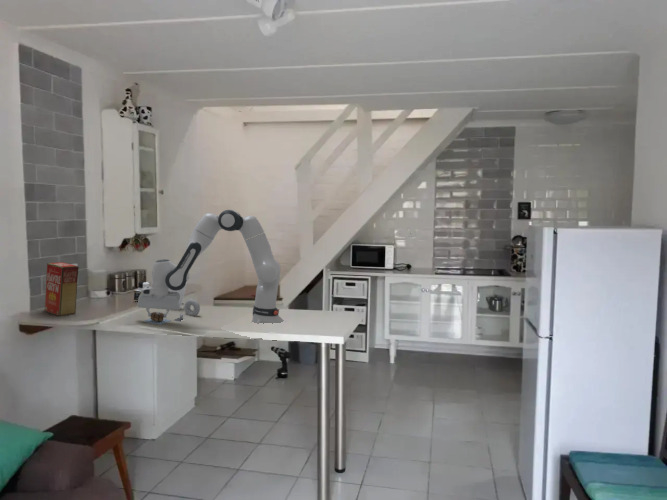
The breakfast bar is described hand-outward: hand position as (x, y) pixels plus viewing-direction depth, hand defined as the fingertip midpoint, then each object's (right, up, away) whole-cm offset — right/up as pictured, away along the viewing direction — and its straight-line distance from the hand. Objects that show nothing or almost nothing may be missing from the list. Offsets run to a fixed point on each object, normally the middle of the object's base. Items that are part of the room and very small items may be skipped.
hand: (157, 316), depth 254 cm
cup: (-2, 0, +33) cm, 33 cm away
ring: (0, -1, 0) cm, 1 cm away
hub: (0, -3, +1) cm, 3 cm away
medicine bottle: (-24, +3, +42) cm, 49 cm away
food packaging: (-50, +2, -1) cm, 50 cm away
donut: (+11, -3, +22) cm, 25 cm away
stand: (+10, -4, +9) cm, 14 cm away
